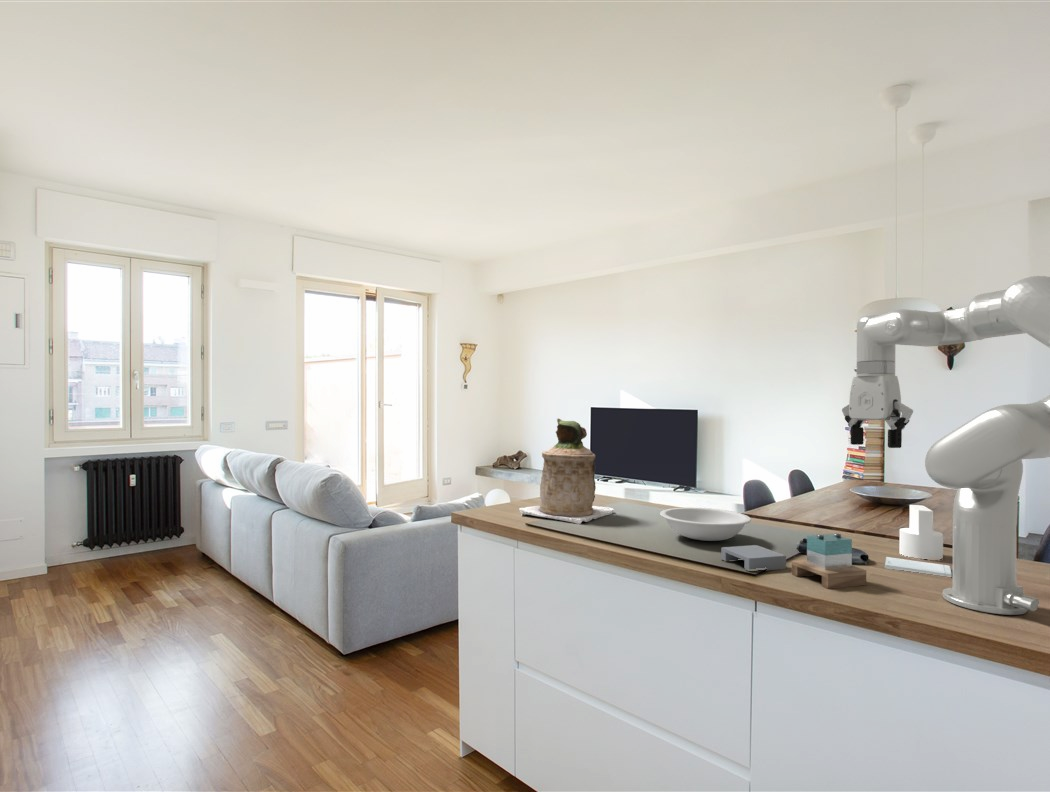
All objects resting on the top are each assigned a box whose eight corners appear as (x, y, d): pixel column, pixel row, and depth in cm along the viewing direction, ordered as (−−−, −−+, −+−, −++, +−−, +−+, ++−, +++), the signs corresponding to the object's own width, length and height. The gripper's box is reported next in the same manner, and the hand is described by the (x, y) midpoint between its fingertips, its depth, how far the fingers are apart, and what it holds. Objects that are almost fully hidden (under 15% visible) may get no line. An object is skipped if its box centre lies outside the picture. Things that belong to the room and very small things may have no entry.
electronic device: (795, 561, 145) (860, 565, 134) (793, 538, 146) (858, 541, 135) (811, 559, 151) (874, 564, 140) (809, 538, 152) (872, 540, 141)
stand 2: (866, 584, 121) (866, 570, 121) (827, 588, 118) (828, 573, 118) (828, 571, 130) (828, 557, 130) (791, 574, 127) (791, 560, 127)
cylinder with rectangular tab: (895, 549, 151) (895, 503, 151) (936, 553, 147) (936, 506, 148) (904, 558, 142) (904, 509, 142) (948, 562, 139) (948, 512, 139)
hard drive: (884, 563, 133) (951, 572, 126) (886, 556, 140) (949, 564, 133) (884, 571, 133) (951, 580, 126) (886, 563, 140) (949, 571, 133)
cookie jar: (583, 525, 176) (584, 420, 176) (516, 515, 189) (517, 418, 189) (616, 513, 196) (617, 418, 197) (553, 505, 210) (554, 417, 210)
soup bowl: (741, 531, 170) (741, 509, 170) (759, 552, 146) (760, 526, 146) (657, 527, 174) (657, 505, 174) (662, 547, 150) (662, 521, 150)
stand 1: (786, 568, 132) (786, 555, 132) (749, 572, 129) (749, 558, 129) (756, 557, 141) (756, 545, 141) (721, 560, 138) (721, 547, 138)
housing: (825, 570, 120) (825, 538, 120) (806, 563, 125) (807, 533, 125) (851, 567, 122) (851, 536, 122) (832, 561, 127) (832, 531, 127)
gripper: (831, 371, 138) (831, 443, 138) (897, 367, 121) (897, 449, 121) (856, 372, 140) (855, 443, 140) (924, 368, 123) (924, 449, 123)
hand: (875, 446), depth 130 cm, fingers open, 9 cm apart
